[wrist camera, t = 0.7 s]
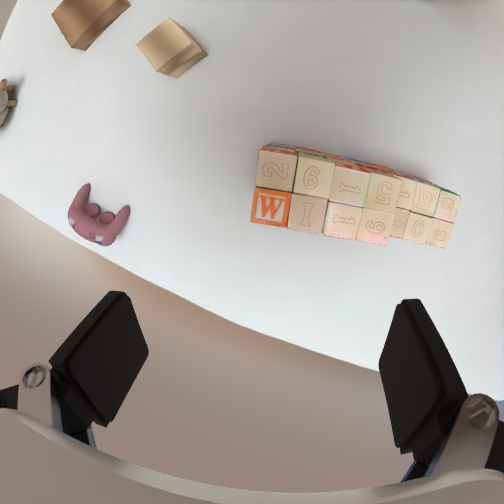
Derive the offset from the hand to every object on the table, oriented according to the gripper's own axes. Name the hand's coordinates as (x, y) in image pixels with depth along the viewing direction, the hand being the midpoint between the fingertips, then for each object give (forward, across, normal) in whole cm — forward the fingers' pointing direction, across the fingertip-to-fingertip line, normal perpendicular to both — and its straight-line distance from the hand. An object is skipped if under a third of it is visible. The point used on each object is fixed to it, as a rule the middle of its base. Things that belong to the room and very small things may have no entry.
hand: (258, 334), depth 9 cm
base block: (+27, +27, -32) cm, 50 cm away
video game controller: (+27, +27, +3) cm, 39 cm away
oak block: (+27, +12, -18) cm, 35 cm away
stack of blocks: (+27, -8, 0) cm, 28 cm away
